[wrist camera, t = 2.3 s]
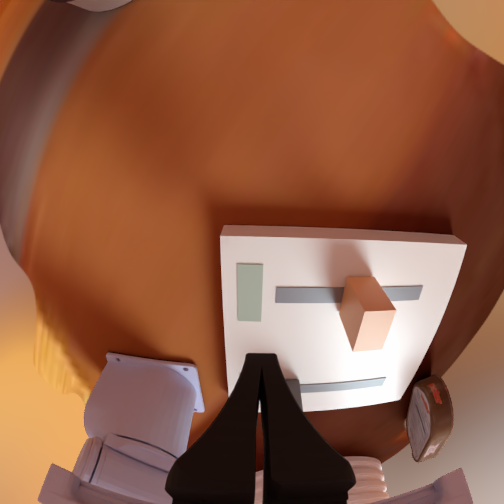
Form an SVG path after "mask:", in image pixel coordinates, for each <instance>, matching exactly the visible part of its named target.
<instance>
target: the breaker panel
mask: <svg viewBox="0 0 504 504" xmlns="http://www.w3.org/2000/svg"><path fill="white" fill-rule="evenodd" d="M466 246H467V245H466V244H465V243H464V242H462V241H461V240H460V239H458V238H457V237H455V236H454V235H446V234H433V233H418V232H402V231H385V230H366V229H345V228H321V227H292V226H254V225H224V226H223V229H222V232H221V235H220V251H221V277H222V299H223V318H224V335H225V351H226V366H227V380H228V393H229V396H230V394H231V393H232V391H233V389H234V387H235V385H236V382H237V380H238V378H239V376H240V373H241V370H242V368H243V365H244V361H245V356H246V354H247V353H275V354H276V355H277V358H278V361H279V365H280V368H281V370H282V373H283V375H284V378H285V380H299V382H300V390H301V398H302V407H303V411H320V410H332V409H342V408H351V407H359V406H366V405H373V404H379V403H385V402H391V401H396V400H400V399H401V397H402V395H403V394H404V392H405V390H406V389H407V387H408V385H409V384H410V382H411V380H412V378H413V377H414V375H415V373H416V371H417V369H418V367H419V366H420V364H421V362H422V360H423V358H424V356H425V354H426V352H427V350H428V348H429V346H430V344H431V342H432V339H433V337H434V335H435V333H436V331H437V328H438V326H439V324H440V321H441V319H442V317H443V314H444V312H445V309H446V307H447V304H448V302H449V299H450V296H451V294H452V291H453V288H454V285H455V282H456V279H457V276H458V273H459V270H460V267H461V264H462V260H463V257H464V254H465V250H466ZM369 276H374V277H375V278H376V280H377V281H378V283H379V284H380V286H381V287H382V289H383V290H384V292H385V293H386V295H387V296H388V298H389V299H390V301H391V302H392V304H393V305H394V307H395V309H396V313H395V316H394V319H393V322H392V324H391V327H390V330H389V333H388V335H387V338H386V341H385V343H384V346H383V348H382V349H381V350H370V351H358V352H353V351H352V348H351V346H350V343H349V340H348V337H347V335H346V332H345V329H344V326H343V324H342V321H341V318H340V316H339V311H340V307H341V302H342V297H343V292H344V287H345V282H346V277H369ZM258 412H261V408H260V402H259V410H258Z"/></svg>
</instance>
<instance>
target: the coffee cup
mask: <svg viewBox="0 0 504 504" xmlns="http://www.w3.org/2000/svg"><path fill="white" fill-rule="evenodd" d="M51 1H55V2H67V3H70V4H73V5H75V6H78V7H81V8H83V9H86V10H89V11H94V12H101V11H107V10H111V9H115V8H118V7H120V6H122V5H125V4H127V3H129V2H130V1H132V0H51Z"/></svg>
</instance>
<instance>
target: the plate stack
mask: <svg viewBox="0 0 504 504" xmlns="http://www.w3.org/2000/svg"><path fill="white" fill-rule="evenodd" d="M344 458H345V459H346V460H348V461H349V463H350V465H351V467H352V469H353V471H354V474H355V477H356V484H355V485H354V486H353V487H352V488H351V489H350V490H349V491H348V500H347V504H368V503H372V502H376V501H380V500H384V499H387V498H389V496H388V493H386V492H385V491H386V490H387V487H386V483H385V482H384V474H383V472H382V471H381V470H382V466H381V462H380V461H379V460H378V459H376V458H372V457H365V456H349V457H344ZM262 500H263V470H261V471H258V472H256V482H255V501H254V504H262Z"/></svg>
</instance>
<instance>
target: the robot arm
mask: <svg viewBox="0 0 504 504" xmlns="http://www.w3.org/2000/svg"><path fill="white" fill-rule="evenodd" d="M106 358H107V361H108V362H107V364H106V366H105V368H104V370H103V371H102V373H101V375H100V377H99V379H98V381H97V383H96V385H95V387H94V389H93V391H92V393H91V395H90V397H89V399H88V401H87V404H86V407H85V412H84V426H85V430H86V433H87V435H88V436H89V438H88V439H87V440H86V442H85V444H84V446H83V448H82V450H81V452H80V454H79V457H78V459H77V461H76V464H75V466H74V469H73V472H70V471H68V470H66V469H63V468H61V467H59V466H57V465H55V464H51V466H50V468H49V471H48V474H47V476H46V478H45V481H44V484H43V486H42V489H41V492H40V494H39V497H38V501H39V502H41V503H42V504H254V501H255V482H256V426H257V418H258V410H259V402H260V408H261V419H262V430H263V442H264V457H263V500H262V504H347V500H348V491H349V490H350V489H351V488H352V487H353V486H354V485H355V484H356V477H355V474H354V471H353V469H352V467H351V465H350V463H349V461H348V460H346V459H345V458H344V457H343V456H342V455H340V454H339V453H338V452H337V451H336V450H335V449H334V448H333V447H332V446H331V445H330V444H329V443H328V442H327V441H326V440H325V439H324V438H323V437H322V436H321V434H320V433H319V432H318V431H317V430H316V429H315V428H314V426H313V425H312V424H311V422H310V421H309V420H308V418H307V417H306V416H305V414H304V413H303V411H302V410H301V408H300V406H299V405H298V403H297V401H296V400H295V398H294V396H293V394H292V392H291V391H290V388H289V386H288V384H287V382H286V380H285V378H284V375H283V373H282V370H281V368H280V365H279V361H278V358H277V355H276V354H275V353H247V354H246V356H245V361H244V365H243V368H242V370H241V373H240V376H239V378H238V380H237V382H236V385H235V387H234V389H233V391H232V393H231V394H230V396H229V398H228V400H227V402H226V403H225V405H224V407H223V408H222V410H221V411H220V413H219V414H218V416H217V417H216V418H215V420H214V421H213V422H212V424H211V425H210V426H209V428H208V429H207V430H206V431H205V432H204V433H203V435H202V436H201V437H200V438H199V439H198V440H197V441H196V442H195V443H194V444H193V445H192V446H191V447H190V448H189V449H188V450H187V451H186V448H187V443H188V438H189V433H190V427H191V422H192V417H193V412H204V409H205V407H204V402H203V397H202V392H201V387H200V382H199V377H198V371H197V367H196V366H195V365H194V364H190V363H180V362H171V361H162V360H154V359H147V358H140V357H133V356H127V355H121V354H115V353H110V352H108V353H107V354H106ZM368 504H473V501H472V497H471V494H470V491H469V488H468V485H467V482H466V479H465V476H464V473H463V470H462V469H461V468H459V469H457V470H455V471H453V472H450V473H448V474H446V475H444V476H442V477H440V478H438V479H437V480H436V481H434V482H433V483H432V484H429V485H426V486H424V487H421V488H419V489H416V490H413V491H410V492H407V493H404V494H401V495H398V496H394V497H391V498H387V499H384V500H380V501H376V502H372V503H368Z"/></svg>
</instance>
